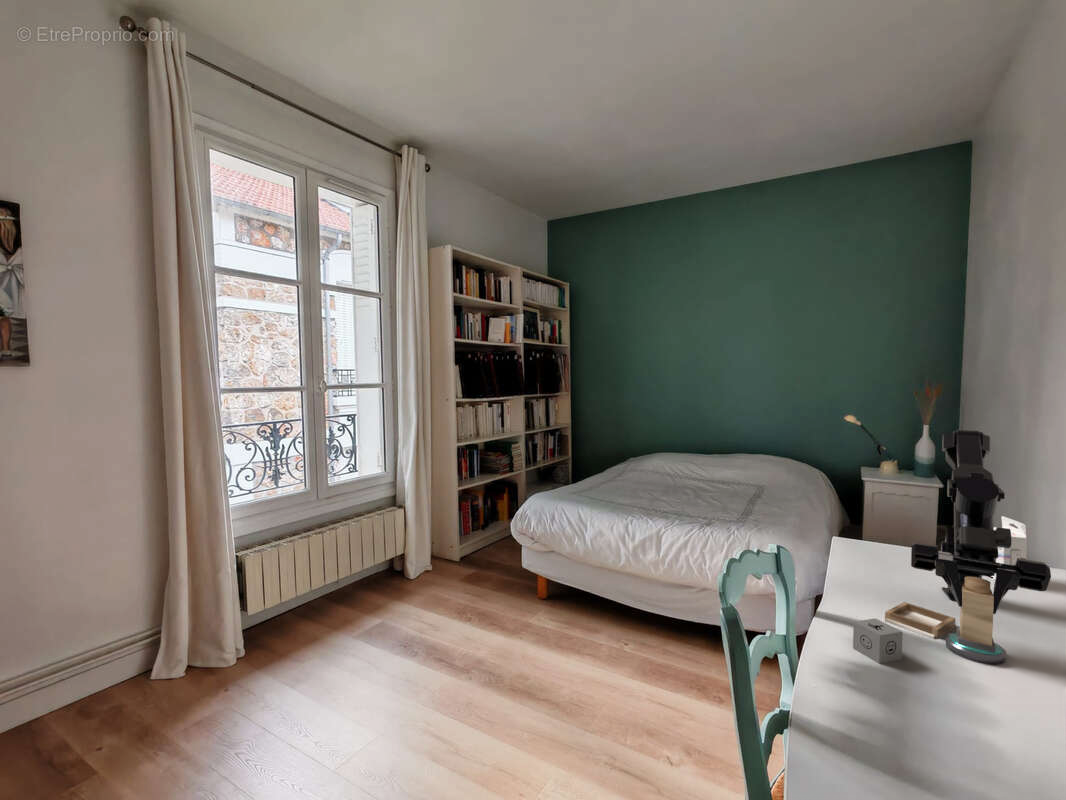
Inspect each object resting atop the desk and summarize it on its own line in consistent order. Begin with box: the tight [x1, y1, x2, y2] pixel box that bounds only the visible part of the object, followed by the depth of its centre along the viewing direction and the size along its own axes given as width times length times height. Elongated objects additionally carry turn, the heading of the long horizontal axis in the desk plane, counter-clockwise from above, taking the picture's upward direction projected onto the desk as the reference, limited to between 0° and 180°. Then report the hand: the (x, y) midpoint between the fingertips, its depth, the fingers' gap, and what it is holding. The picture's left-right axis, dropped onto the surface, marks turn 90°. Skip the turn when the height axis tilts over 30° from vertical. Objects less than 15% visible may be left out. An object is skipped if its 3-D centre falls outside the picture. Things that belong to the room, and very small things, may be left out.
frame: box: [884, 601, 956, 639], centre depth 98 cm, size 10×9×2 cm
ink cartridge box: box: [991, 515, 1028, 580], centre depth 121 cm, size 9×5×15 cm, turn 168°
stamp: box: [956, 576, 996, 653], centre depth 88 cm, size 5×5×11 cm
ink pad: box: [945, 632, 1007, 666], centre depth 88 cm, size 8×8×2 cm
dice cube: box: [852, 618, 903, 664], centre depth 87 cm, size 5×5×5 cm
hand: (977, 609), depth 87 cm, fingers closed on stamp, 4 cm apart
